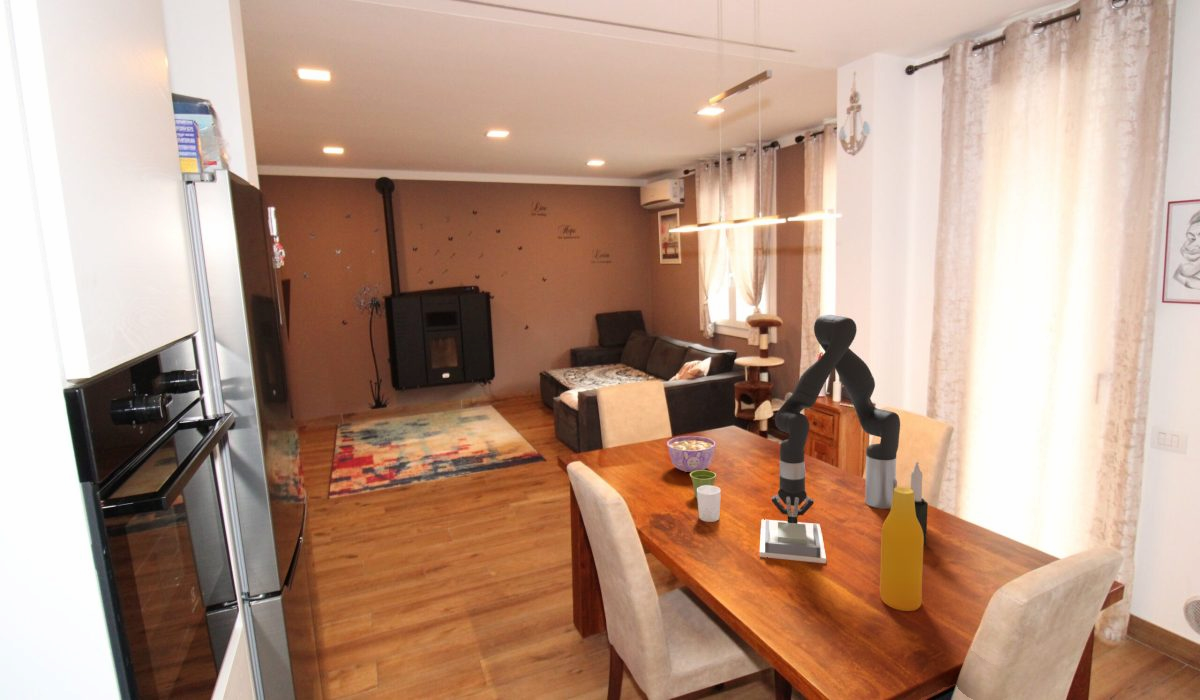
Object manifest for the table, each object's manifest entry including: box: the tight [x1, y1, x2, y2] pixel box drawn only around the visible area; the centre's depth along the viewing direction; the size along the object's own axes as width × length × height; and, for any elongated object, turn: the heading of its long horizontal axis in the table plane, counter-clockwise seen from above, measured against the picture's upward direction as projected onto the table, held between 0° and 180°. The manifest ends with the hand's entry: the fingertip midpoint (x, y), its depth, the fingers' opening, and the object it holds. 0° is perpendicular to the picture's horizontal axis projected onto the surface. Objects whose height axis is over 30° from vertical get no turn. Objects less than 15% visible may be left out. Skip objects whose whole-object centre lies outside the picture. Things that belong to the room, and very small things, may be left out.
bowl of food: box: [666, 435, 716, 473], centre depth 236 cm, size 20×20×12 cm
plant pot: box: [689, 469, 717, 499], centre depth 208 cm, size 9×9×9 cm
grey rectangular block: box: [778, 522, 807, 545], centre depth 170 cm, size 8×10×4 cm
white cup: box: [696, 485, 722, 523], centre depth 191 cm, size 8×8×10 cm
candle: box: [909, 461, 929, 546], centre depth 167 cm, size 5×5×25 cm
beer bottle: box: [879, 486, 925, 612], centre depth 139 cm, size 9×9×29 cm
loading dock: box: [759, 518, 827, 564], centre depth 174 cm, size 18×25×6 cm
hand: (792, 526), depth 178 cm, fingers closed
